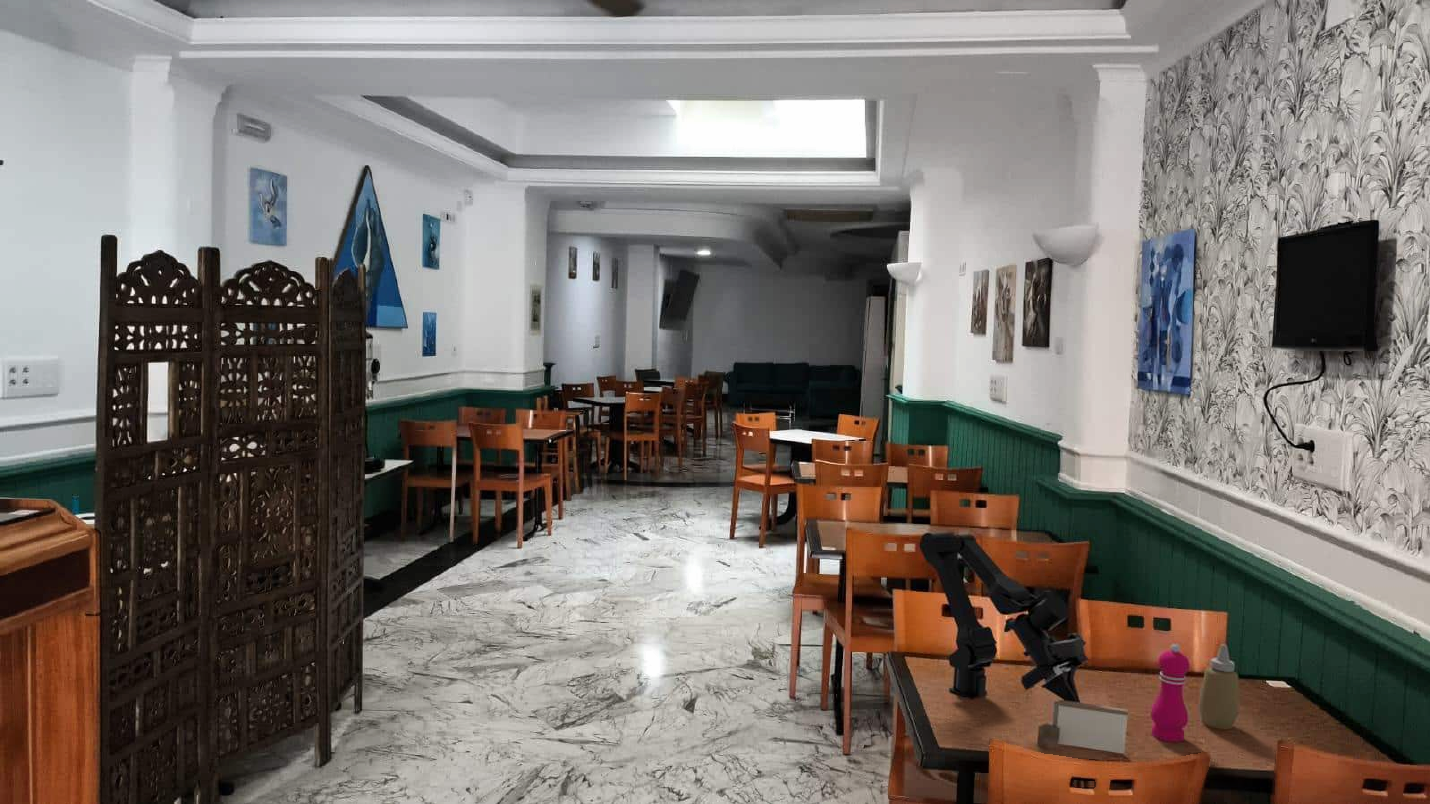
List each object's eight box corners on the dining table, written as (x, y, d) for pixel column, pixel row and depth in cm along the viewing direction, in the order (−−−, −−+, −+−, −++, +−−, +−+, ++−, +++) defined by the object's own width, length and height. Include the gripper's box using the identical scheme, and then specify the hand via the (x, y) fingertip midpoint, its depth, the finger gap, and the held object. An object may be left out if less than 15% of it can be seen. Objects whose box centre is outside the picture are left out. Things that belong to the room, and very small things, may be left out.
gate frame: (1037, 745, 202) (1038, 726, 201) (1083, 723, 215) (1084, 705, 214) (1050, 750, 200) (1052, 731, 199) (1096, 727, 213) (1097, 709, 212)
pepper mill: (1142, 729, 213) (1150, 638, 212) (1174, 729, 214) (1182, 639, 212) (1160, 743, 206) (1168, 649, 204) (1193, 743, 207) (1201, 650, 205)
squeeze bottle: (1236, 735, 212) (1243, 653, 211) (1194, 725, 216) (1201, 645, 215) (1239, 723, 219) (1246, 644, 218) (1198, 714, 223) (1205, 636, 222)
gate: (1051, 740, 204) (1054, 698, 203) (1123, 751, 200) (1127, 709, 199) (1051, 742, 203) (1054, 701, 202) (1124, 754, 199) (1127, 711, 198)
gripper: (1039, 629, 203) (1085, 699, 196) (1083, 614, 215) (1128, 679, 208) (1002, 655, 209) (1045, 724, 202) (1047, 639, 222) (1089, 703, 215)
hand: (1078, 706), depth 207 cm, fingers closed
